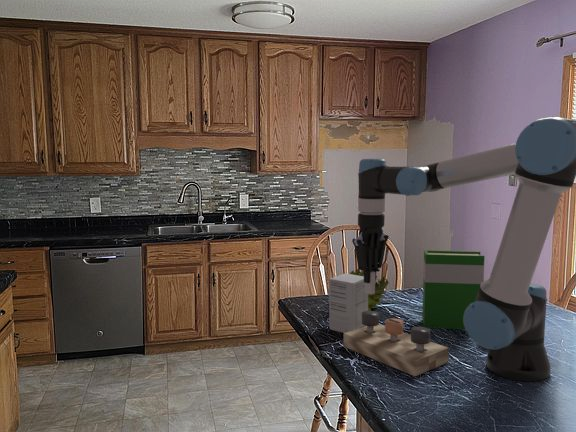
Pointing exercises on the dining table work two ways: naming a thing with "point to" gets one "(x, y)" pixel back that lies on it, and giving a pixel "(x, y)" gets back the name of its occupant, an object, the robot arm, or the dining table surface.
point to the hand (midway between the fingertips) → (369, 293)
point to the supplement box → (347, 302)
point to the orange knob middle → (394, 328)
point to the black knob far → (370, 320)
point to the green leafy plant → (379, 290)
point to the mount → (396, 350)
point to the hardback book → (450, 286)
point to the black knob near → (420, 337)
